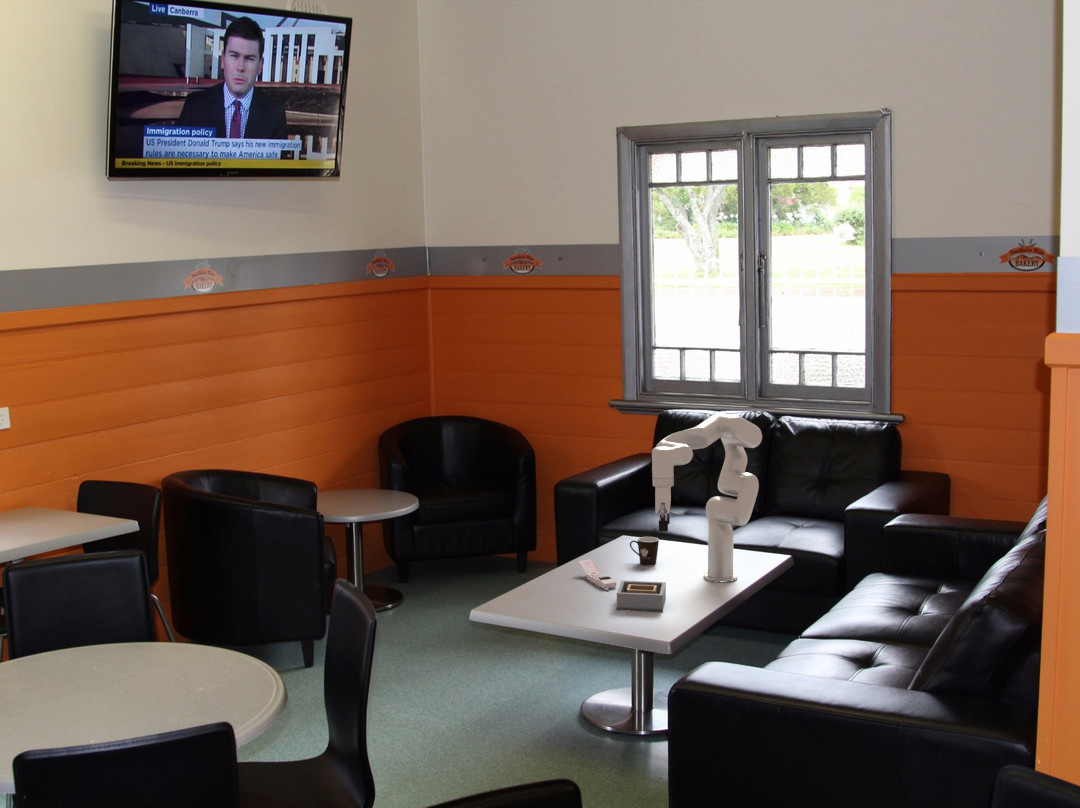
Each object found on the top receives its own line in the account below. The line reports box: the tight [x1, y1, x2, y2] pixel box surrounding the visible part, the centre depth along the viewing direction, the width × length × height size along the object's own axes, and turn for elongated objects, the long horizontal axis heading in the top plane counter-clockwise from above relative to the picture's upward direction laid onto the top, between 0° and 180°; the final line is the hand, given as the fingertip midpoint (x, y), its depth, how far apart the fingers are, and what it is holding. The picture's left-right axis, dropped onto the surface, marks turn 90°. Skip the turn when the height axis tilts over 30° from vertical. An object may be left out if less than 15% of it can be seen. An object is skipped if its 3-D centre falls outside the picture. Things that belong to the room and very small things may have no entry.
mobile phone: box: [578, 558, 617, 591], centre depth 434 cm, size 6×6×25 cm
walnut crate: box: [627, 584, 657, 594], centre depth 406 cm, size 7×10×5 cm
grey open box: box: [616, 580, 667, 613], centre depth 406 cm, size 16×16×6 cm
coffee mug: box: [629, 536, 660, 567], centre depth 460 cm, size 12×9×10 cm
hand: (664, 527), depth 412 cm, fingers open, 9 cm apart
